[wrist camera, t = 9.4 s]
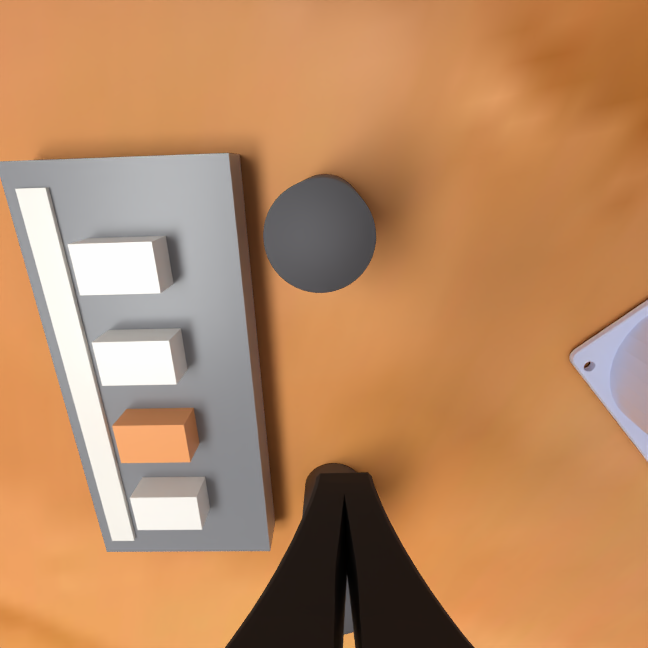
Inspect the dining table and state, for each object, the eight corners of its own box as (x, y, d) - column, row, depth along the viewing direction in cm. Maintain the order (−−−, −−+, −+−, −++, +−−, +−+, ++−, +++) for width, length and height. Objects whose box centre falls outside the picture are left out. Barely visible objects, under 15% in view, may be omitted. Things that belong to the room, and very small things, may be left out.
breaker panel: (31, 162, 18) (-35, 161, 15) (239, 154, 18) (218, 152, 15) (124, 522, 25) (93, 575, 22) (275, 521, 25) (266, 574, 22)
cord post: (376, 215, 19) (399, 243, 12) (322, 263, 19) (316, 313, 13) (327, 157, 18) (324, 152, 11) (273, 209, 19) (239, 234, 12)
